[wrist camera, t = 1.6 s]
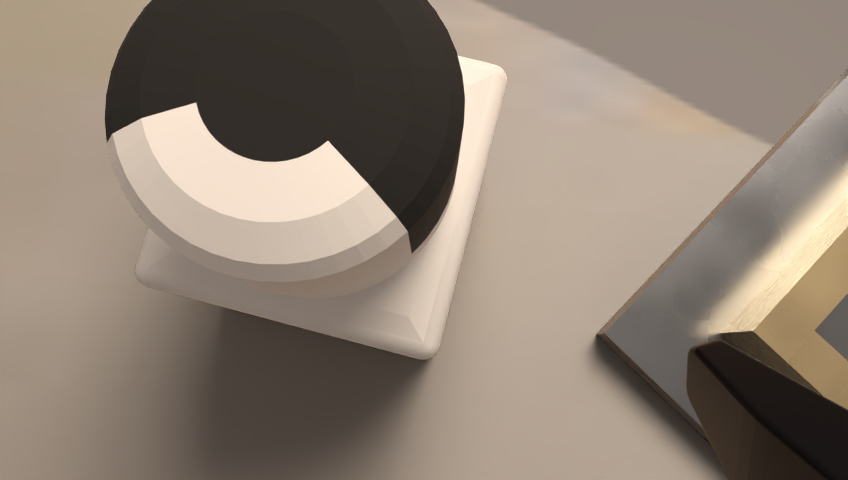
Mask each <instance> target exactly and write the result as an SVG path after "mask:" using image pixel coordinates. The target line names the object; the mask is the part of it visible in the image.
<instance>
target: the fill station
mask: <svg viewBox="0 0 848 480" xmlns="http://www.w3.org/2000/svg"><path fill="white" fill-rule="evenodd" d="M597 335H598V336H599V337H600V338H601V339H602V340H603V341H604V342H605V343H606V344H607V345H608V346H609V347H610V348H611V349H612V350H613V351H614V352H615V353H616V354H618V355H619V356H620V357H621V358H622V359H623V360H624V361H625V362H626V363H627V364H628V365H629V366H630V367H631V368H632V369H633V370H634V371H635V372H636V373H637V374H638V375H639V376H640V377H641V378H642V379H644V380H645V381H646V382H647V383H648V384H649V385H650V386H651V387H652V388H653V389H654V390H655V391H656V392H657V393H658V394H659V395H660V396H661V397H662V398H663V399H664V400H665V401H666V402H667V403H668V404H670V405H671V406H672V407H673V408H674V409H675V410H676V411H677V412H678V413H679V414H680V415H681V416H682V417H683V418H684V419H685V420H686V421H687V422H688V423H689V424H690V425H691V426H692V427H693V428H694V429H696V430H697V431H698V432H699V433H700V434H701V435H702V436H703V437H704V438H705V439H706V440H707V441H708V442H709V443H710V441H709V439H708V437H707V435H706V433H705V431H704V429H703V427H702V425H701V423H700V421H699V419H698V417H697V415H696V413H695V411H694V409H693V407H692V405H691V403H690V401H689V398H688V395H687V390H686V374H687V354H688V351H689V349H690V348H691V347H692V346H695V345H698V344H701V343H705V342H708V341H711V340H721V341H724V342H726V343H728V344H730V345H732V346H734V347H735V348H737V349H739V350H741V351H743V352H744V353H746V354H748V355H750V356H752V357H753V358H755V359H757V360H759V361H761V362H762V363H764V364H766V365H768V366H770V367H772V368H773V369H775V370H777V371H779V372H781V373H782V374H784V375H786V376H788V377H790V378H791V379H793V380H795V381H797V382H799V383H800V384H802V385H804V386H806V387H808V388H810V389H811V390H813V391H815V392H817V393H819V394H820V395H822V396H824V397H826V398H828V399H829V400H831V401H833V402H835V403H837V404H838V405H840V406H842V407H844V408H846V409H848V68H847V70H846V71H845V72H844V73H843V74H842V75H841V76H840V77H839V78H838V79H837V80H836V81H835V82H834V83H833V84H832V85H831V86H830V88H829V89H828V90H827V91H826V92H825V93H824V94H823V95H822V96H821V97H820V98H819V99H818V100H817V101H816V102H815V103H814V104H813V106H812V107H811V108H810V109H809V110H808V111H807V112H806V113H805V114H804V115H803V116H802V117H801V118H800V119H799V120H798V121H797V122H796V123H795V125H794V126H793V127H792V128H791V129H790V130H789V131H788V132H787V133H786V134H785V135H784V136H783V137H782V138H781V139H780V140H779V142H778V143H777V144H776V145H775V146H774V147H773V148H772V149H771V150H770V151H769V152H768V153H767V154H766V155H765V156H764V157H763V158H762V159H761V161H760V162H759V163H758V164H757V165H756V166H755V167H754V168H753V169H752V170H751V171H750V172H749V173H748V174H747V175H746V176H745V177H744V179H743V180H742V181H741V182H740V183H739V184H738V185H737V186H736V187H735V188H734V189H733V190H732V191H731V192H730V193H729V194H728V195H727V197H726V198H725V199H724V200H723V201H722V202H721V203H720V204H719V205H718V206H717V207H716V208H715V209H714V210H713V211H712V212H711V213H710V215H709V216H708V217H707V218H706V219H705V220H704V221H703V222H702V223H701V224H700V225H699V226H698V227H697V228H696V229H695V230H694V231H693V233H692V234H691V235H690V236H689V237H688V238H687V239H686V240H685V241H684V242H683V243H682V244H681V245H680V246H679V247H678V248H677V249H676V250H675V252H674V253H673V254H672V255H671V256H670V257H669V258H668V259H667V260H666V261H665V262H664V263H663V264H662V265H661V266H660V267H659V268H658V270H657V271H656V272H655V273H654V274H653V275H652V276H651V277H650V278H649V279H648V280H647V281H646V282H645V283H644V284H643V285H642V286H641V288H640V289H639V290H638V291H637V292H636V293H635V294H634V295H633V296H632V297H631V298H630V299H629V300H628V301H627V302H626V303H625V304H624V306H623V307H622V308H621V309H620V310H619V311H618V312H617V313H616V314H615V315H614V316H613V317H612V318H611V319H610V320H609V321H608V322H607V324H606V325H605V326H604V327H603V328H602V329H601V330H600V331H599V332H598V333H597ZM710 444H711V443H710Z"/></svg>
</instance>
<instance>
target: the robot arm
mask: <svg viewBox="0 0 848 480" xmlns="http://www.w3.org/2000/svg"><path fill="white" fill-rule="evenodd" d="M686 390H687V395H688V398H689V401H690V403H691V405H692V407H693V409H694V411H695V413H696V415H697V417H698V419H699V421H700V423H701V425H702V427H703V429H704V431H705V433H706V435H707V437H708V439H709V441H710V443H711V445H712V447H713V449H714V451H715V452H716V454H717V456H718V458H719V460H720V462H721V464H722V466H723V468H724V470H725V472H726V474H727V476H728V478H729V480H848V409H846V408H844V407H842V406H840V405H838V404H837V403H835V402H833V401H831V400H829V399H828V398H826V397H824V396H822V395H820V394H819V393H817V392H815V391H813V390H811V389H810V388H808V387H806V386H804V385H802V384H800V383H799V382H797V381H795V380H793V379H791V378H790V377H788V376H786V375H784V374H782V373H781V372H779V371H777V370H775V369H773V368H772V367H770V366H768V365H766V364H764V363H762V362H761V361H759V360H757V359H755V358H753V357H752V356H750V355H748V354H746V353H744V352H743V351H741V350H739V349H737V348H735V347H734V346H732V345H730V344H728V343H726V342H724V341H721V340H711V341H708V342H705V343H701V344H698V345H695V346H692V347H691V348H690V349H689V351H688V354H687V374H686Z"/></svg>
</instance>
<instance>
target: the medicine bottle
mask: <svg viewBox="0 0 848 480" xmlns="http://www.w3.org/2000/svg"><path fill="white" fill-rule="evenodd" d="M506 86H507V76H506V74H505V72H504V71H503V69H502V68H501V67H499V66H497V65H494V64H490V63H486V62H482V61H478V60H474V59H469V58H465V57H461V56H458V55H457V52H456V49H455V47H454V45H453V42H452V40H451V38H450V35H449V33H448V30H447V29H446V27H445V25H444V24H443V22H442V21H441V19H440V17H439V16H438V14H437V12H436V11H435V9H434V8H433V7H432V6H431V5H430V3H429V2H428V1H427V0H152V1H151V2H150V3H149V4H148V5H147V6H146V7H145V8H144V9H143V11H142V12H141V14H140V15H139V16H138V18H137V19H136V21H135V22H134V23H133V25H132V26H131V28H130V30H129V32H128V33H127V35H126V37H125V39H124V41H123V43H122V45H121V47H120V49H119V51H118V54H117V57H116V60H115V62H114V65H113V68H112V71H111V75H110V80H109V85H108V89H107V94H106V109H105V126H106V138H107V145H108V149H109V154H110V158H111V162H112V166H113V169H114V171H115V174H116V176H117V178H118V181H119V183H120V186H121V188H122V190H123V192H124V193H125V195H126V197H127V199H128V200H129V202H130V204H131V205H132V207H133V209H134V210H135V211H136V213H137V214H138V215H139V216H140V217H141V219H142V220H143V221H144V222H145V224H146V225H147V226H148V230H147V233H146V236H145V239H144V242H143V245H142V248H141V251H140V254H139V257H138V260H137V263H136V266H135V275H136V277H137V279H138V281H139V282H140V283H142V284H143V285H145V286H147V287H150V288H154V289H157V290H161V291H165V292H169V293H172V294H176V295H180V296H184V297H187V298H191V299H195V300H199V301H202V302H206V303H210V304H213V305H217V306H221V307H225V308H228V309H232V310H236V311H240V312H243V313H247V314H251V315H255V316H258V317H262V318H266V319H270V320H273V321H277V322H281V323H285V324H288V325H292V326H296V327H300V328H303V329H307V330H311V331H315V332H318V333H322V334H326V335H330V336H333V337H337V338H341V339H345V340H348V341H352V342H356V343H360V344H363V345H367V346H371V347H374V348H378V349H382V350H386V351H389V352H393V353H397V354H401V355H404V356H408V357H412V358H416V359H430V358H431V357H433V356H435V355H436V353H437V351H438V350H439V348H440V344H441V341H442V337H443V333H444V329H445V325H446V321H447V317H448V313H449V309H450V305H451V301H452V298H453V294H454V290H455V286H456V282H457V278H458V274H459V270H460V266H461V262H462V258H463V255H464V251H465V247H466V243H467V239H468V235H469V231H470V227H471V223H472V219H473V215H474V212H475V208H476V204H477V200H478V196H479V192H480V188H481V184H482V180H483V176H484V172H485V168H486V165H487V161H488V157H489V153H490V149H491V145H492V141H493V137H494V133H495V129H496V125H497V122H498V118H499V114H500V110H501V106H502V102H503V98H504V94H505V90H506Z"/></svg>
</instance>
